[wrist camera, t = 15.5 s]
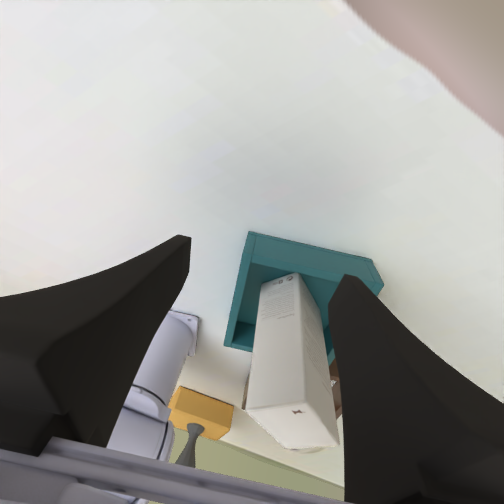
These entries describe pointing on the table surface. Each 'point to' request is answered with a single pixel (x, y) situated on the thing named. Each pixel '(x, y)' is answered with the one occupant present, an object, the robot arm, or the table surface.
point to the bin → (284, 263)
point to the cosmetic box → (291, 368)
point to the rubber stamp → (198, 419)
